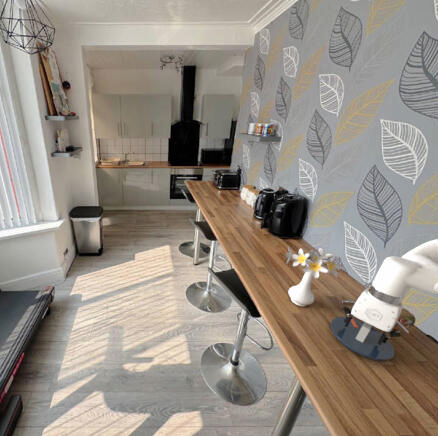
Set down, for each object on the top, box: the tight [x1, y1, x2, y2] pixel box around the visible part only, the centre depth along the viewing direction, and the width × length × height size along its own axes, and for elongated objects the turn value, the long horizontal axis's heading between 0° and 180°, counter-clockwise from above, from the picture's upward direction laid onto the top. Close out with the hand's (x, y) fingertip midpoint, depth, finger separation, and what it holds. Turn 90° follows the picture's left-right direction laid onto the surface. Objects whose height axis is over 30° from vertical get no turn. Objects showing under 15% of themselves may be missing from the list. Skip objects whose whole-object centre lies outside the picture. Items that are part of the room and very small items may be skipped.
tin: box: [392, 307, 416, 331], centre depth 88 cm, size 15×3×8 cm, turn 76°
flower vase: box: [285, 245, 343, 308], centre depth 94 cm, size 13×18×25 cm
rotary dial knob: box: [330, 316, 395, 362], centre depth 80 cm, size 17×17×7 cm
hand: (362, 333), depth 81 cm, fingers open, 8 cm apart
